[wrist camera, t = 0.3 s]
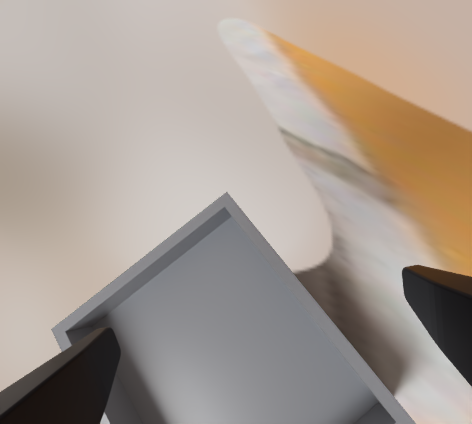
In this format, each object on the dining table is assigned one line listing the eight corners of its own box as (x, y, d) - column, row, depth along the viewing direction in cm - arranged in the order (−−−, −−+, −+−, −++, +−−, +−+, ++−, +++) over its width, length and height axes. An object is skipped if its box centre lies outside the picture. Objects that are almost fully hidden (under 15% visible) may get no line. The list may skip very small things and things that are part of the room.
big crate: (392, 400, 20) (418, 426, 16) (208, 554, 19) (190, 620, 15) (235, 206, 25) (226, 191, 21) (87, 322, 24) (51, 329, 21)
